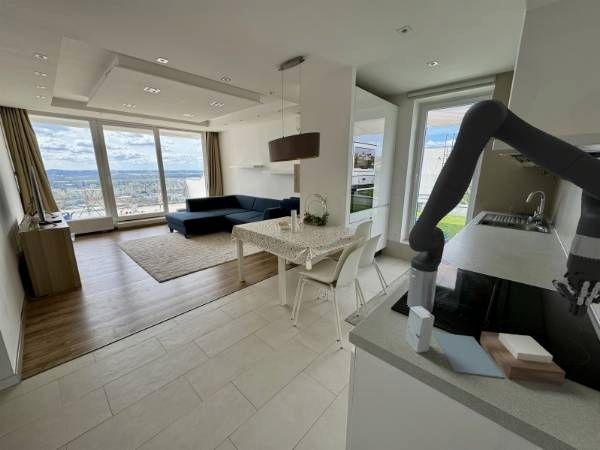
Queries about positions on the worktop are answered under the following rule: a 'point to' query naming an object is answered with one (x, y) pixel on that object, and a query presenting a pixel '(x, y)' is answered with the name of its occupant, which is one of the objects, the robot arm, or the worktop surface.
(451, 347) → the mat
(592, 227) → the robot arm
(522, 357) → the coaster
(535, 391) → the worktop surface
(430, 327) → the skincare box
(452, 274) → the worktop surface
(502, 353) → the stand
